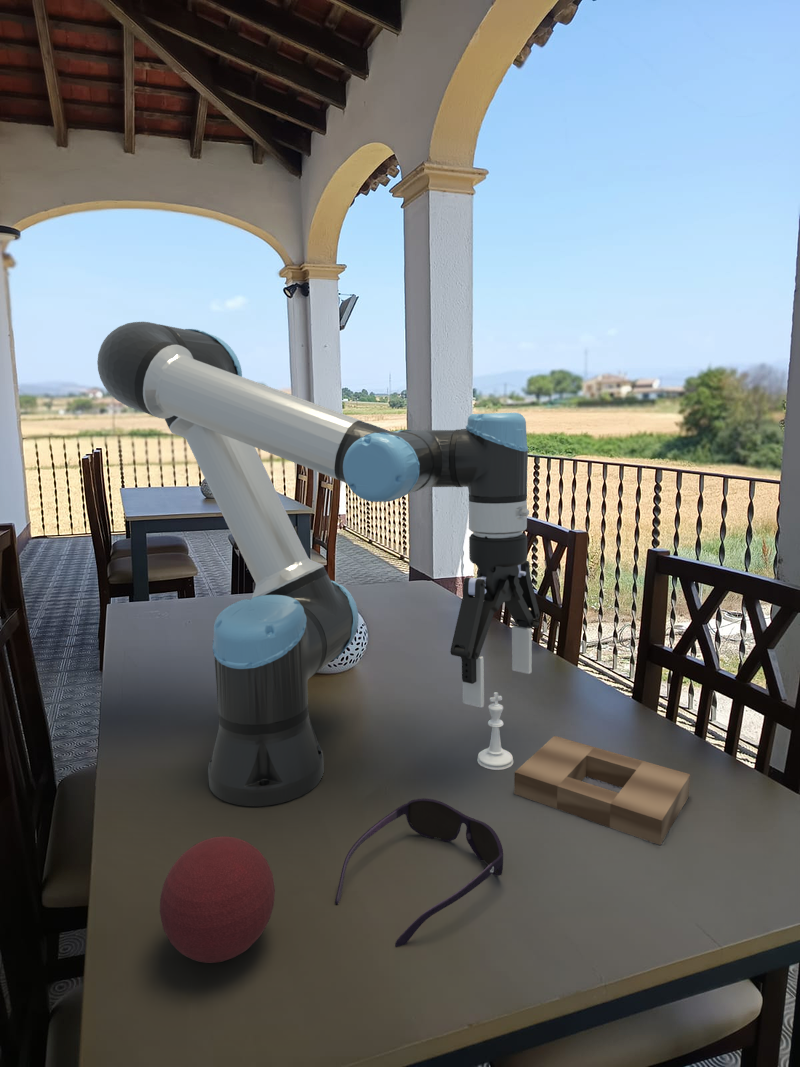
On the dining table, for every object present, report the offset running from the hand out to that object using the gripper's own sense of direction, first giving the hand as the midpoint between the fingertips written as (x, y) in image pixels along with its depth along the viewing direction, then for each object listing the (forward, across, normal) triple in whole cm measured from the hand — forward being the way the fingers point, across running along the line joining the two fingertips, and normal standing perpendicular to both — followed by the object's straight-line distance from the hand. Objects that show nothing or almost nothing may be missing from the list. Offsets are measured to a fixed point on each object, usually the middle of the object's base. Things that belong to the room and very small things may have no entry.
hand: (498, 687), depth 93 cm
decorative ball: (+11, -44, +5) cm, 46 cm away
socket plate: (+11, 0, -14) cm, 18 cm away
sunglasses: (+11, -27, -5) cm, 30 cm away
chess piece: (+11, 0, +1) cm, 11 cm away
